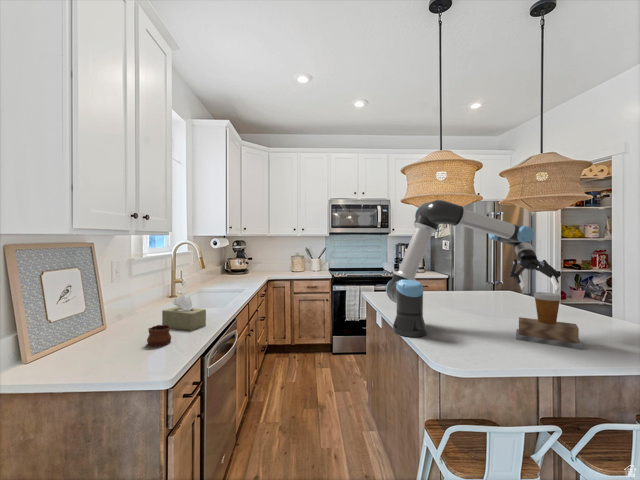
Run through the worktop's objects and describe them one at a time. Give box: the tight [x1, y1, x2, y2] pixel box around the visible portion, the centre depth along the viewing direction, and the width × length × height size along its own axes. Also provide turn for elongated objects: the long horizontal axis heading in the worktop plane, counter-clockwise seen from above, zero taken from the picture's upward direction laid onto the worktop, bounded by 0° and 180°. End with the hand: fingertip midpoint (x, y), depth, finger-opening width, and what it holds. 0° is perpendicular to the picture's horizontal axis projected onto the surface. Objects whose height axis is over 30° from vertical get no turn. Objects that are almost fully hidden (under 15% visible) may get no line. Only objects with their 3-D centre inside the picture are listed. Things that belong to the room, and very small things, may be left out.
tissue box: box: [161, 293, 207, 331], centre depth 152 cm, size 19×10×16 cm, turn 70°
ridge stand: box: [515, 316, 584, 350], centre depth 131 cm, size 22×13×8 cm, turn 56°
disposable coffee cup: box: [533, 291, 562, 324], centre depth 132 cm, size 10×10×12 cm
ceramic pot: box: [146, 324, 172, 348], centre depth 126 cm, size 18×18×7 cm
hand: (540, 288), depth 138 cm, fingers open, 13 cm apart
